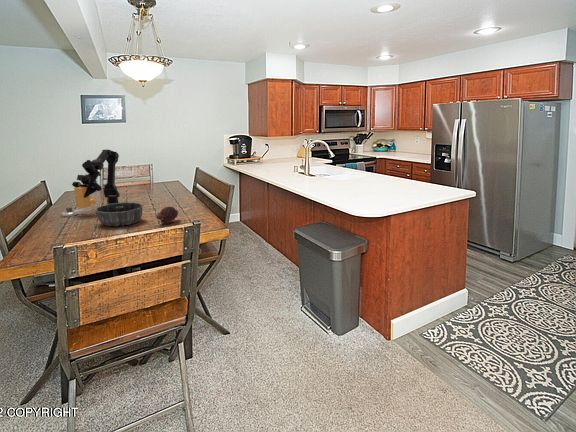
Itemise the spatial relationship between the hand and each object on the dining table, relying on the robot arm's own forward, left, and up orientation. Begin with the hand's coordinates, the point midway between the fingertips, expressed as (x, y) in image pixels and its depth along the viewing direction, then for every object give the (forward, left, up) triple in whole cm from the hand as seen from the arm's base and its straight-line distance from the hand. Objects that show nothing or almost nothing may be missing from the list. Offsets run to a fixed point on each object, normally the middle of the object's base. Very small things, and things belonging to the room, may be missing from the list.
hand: (80, 197), depth 239 cm
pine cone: (-28, +55, -13) cm, 64 cm away
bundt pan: (-9, +33, -13) cm, 37 cm away
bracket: (-18, -43, -13) cm, 48 cm away
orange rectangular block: (-1, -1, -7) cm, 7 cm away
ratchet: (-2, -15, -13) cm, 20 cm away
